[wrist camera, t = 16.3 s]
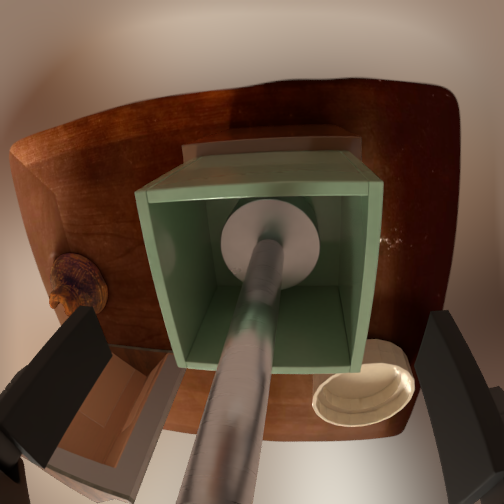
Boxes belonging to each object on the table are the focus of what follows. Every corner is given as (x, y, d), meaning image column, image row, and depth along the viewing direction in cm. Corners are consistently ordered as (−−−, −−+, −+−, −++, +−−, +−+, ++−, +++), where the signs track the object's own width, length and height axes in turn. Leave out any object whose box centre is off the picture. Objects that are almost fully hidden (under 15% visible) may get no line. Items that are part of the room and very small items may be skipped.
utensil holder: (333, 124, 33) (406, 159, 11) (334, 223, 38) (373, 382, 16) (228, 128, 35) (112, 173, 13) (237, 225, 40) (167, 376, 18)
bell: (119, 280, 47) (96, 307, 40) (97, 322, 52) (77, 348, 45) (65, 236, 45) (37, 257, 38) (49, 283, 50) (26, 304, 43)
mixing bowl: (416, 332, 44) (426, 358, 38) (395, 397, 51) (400, 422, 45) (314, 337, 46) (315, 365, 41) (310, 402, 53) (309, 428, 48)
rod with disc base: (317, 184, 20) (369, 524, 3) (317, 268, 22) (323, 565, 6) (225, 187, 21) (29, 458, 4) (233, 268, 23) (135, 539, 6)
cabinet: (188, 351, 51) (128, 500, 26) (199, 388, 55) (155, 522, 30) (90, 341, 54) (15, 450, 29) (107, 375, 58) (47, 480, 33)
